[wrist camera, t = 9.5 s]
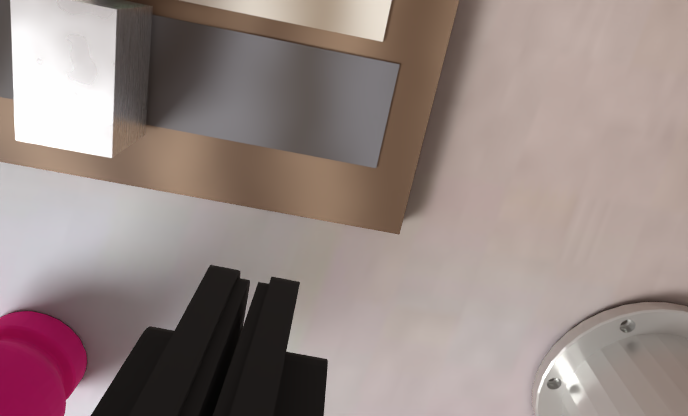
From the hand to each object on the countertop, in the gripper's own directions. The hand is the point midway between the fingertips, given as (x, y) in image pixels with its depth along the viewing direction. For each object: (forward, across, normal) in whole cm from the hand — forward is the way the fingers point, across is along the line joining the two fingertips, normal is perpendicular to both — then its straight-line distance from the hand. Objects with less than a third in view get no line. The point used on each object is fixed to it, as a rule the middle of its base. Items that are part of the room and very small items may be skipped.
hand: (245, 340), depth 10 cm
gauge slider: (+17, +10, -2) cm, 20 cm away
